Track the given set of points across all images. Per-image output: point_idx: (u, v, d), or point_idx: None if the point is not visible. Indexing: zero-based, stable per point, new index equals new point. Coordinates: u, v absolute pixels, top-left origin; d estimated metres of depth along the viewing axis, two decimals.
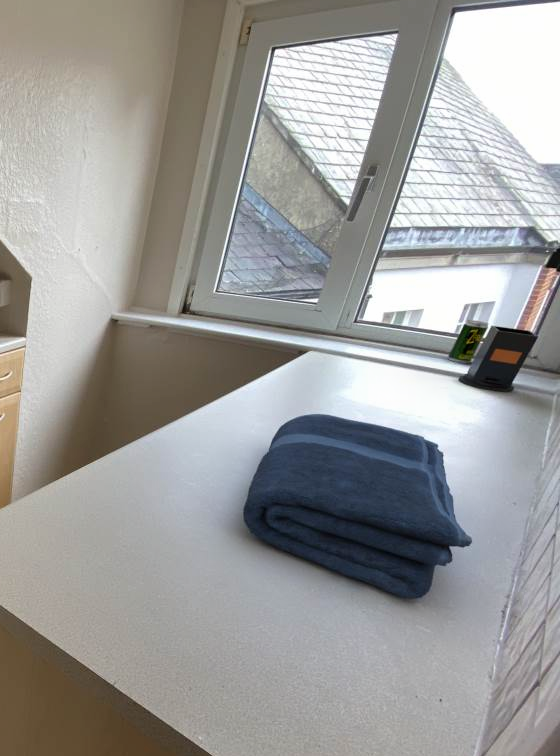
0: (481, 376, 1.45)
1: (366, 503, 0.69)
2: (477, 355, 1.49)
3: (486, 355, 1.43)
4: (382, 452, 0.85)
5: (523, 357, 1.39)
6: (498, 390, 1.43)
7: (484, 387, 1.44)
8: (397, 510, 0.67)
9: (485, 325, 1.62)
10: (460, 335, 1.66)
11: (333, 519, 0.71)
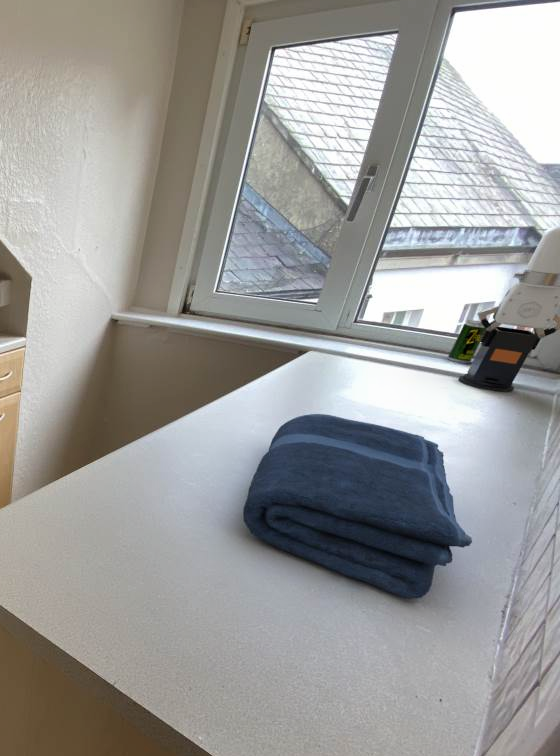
0: (481, 376, 1.45)
1: (366, 503, 0.69)
2: (477, 355, 1.49)
3: (486, 355, 1.43)
4: (382, 452, 0.85)
5: (523, 357, 1.39)
6: (498, 390, 1.43)
7: (484, 387, 1.44)
8: (397, 510, 0.67)
9: None
10: (460, 335, 1.66)
11: (333, 519, 0.71)
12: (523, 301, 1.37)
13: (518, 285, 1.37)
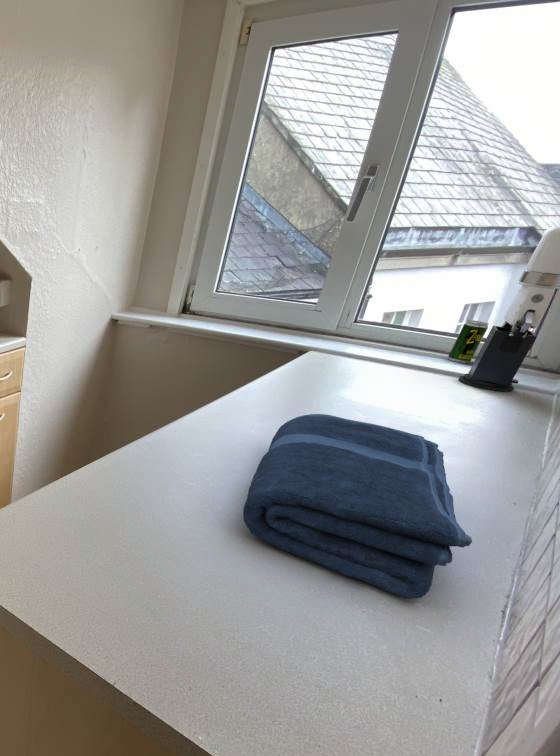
0: None
1: (366, 503, 0.69)
2: (486, 361, 1.44)
3: (522, 361, 1.40)
4: (382, 452, 0.85)
5: None
6: (498, 390, 1.43)
7: (484, 387, 1.44)
8: (397, 510, 0.67)
9: (485, 325, 1.62)
10: (460, 335, 1.66)
11: (333, 519, 0.71)
12: None
13: (553, 290, 1.32)
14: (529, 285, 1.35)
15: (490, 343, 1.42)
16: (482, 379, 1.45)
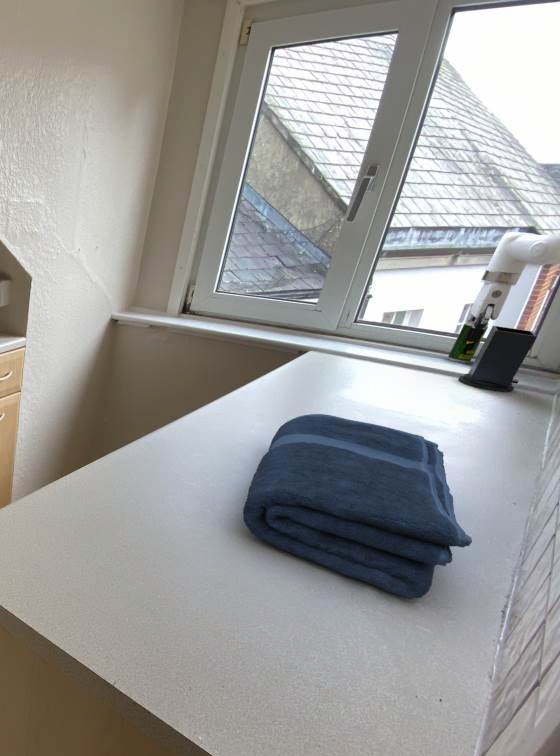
0: None
1: (366, 503, 0.69)
2: (487, 361, 1.44)
3: (522, 361, 1.40)
4: (382, 452, 0.85)
5: None
6: (498, 390, 1.43)
7: (484, 387, 1.44)
8: (397, 510, 0.67)
9: None
10: (460, 335, 1.66)
11: (333, 519, 0.71)
12: None
13: (510, 286, 1.55)
14: (490, 283, 1.57)
15: (490, 343, 1.42)
16: (482, 379, 1.45)
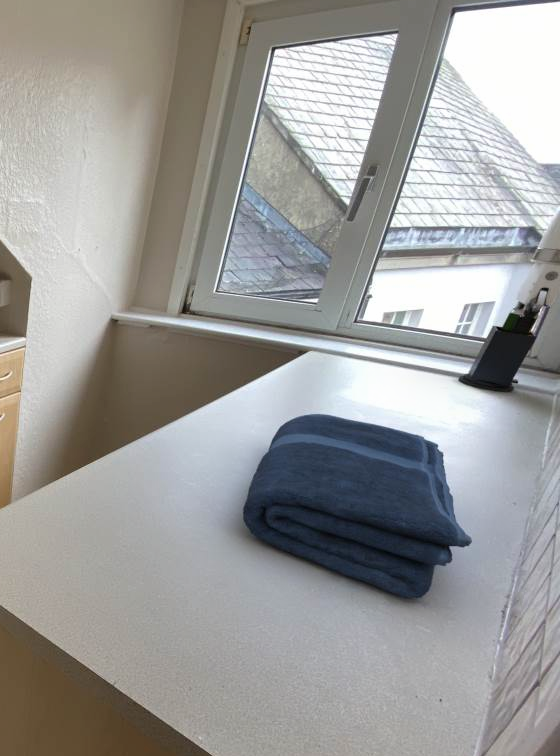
0: None
1: (366, 503, 0.69)
2: (487, 361, 1.44)
3: (522, 361, 1.40)
4: (382, 452, 0.85)
5: None
6: (498, 390, 1.43)
7: (484, 387, 1.44)
8: (397, 510, 0.67)
9: None
10: (505, 326, 1.41)
11: (333, 519, 0.71)
12: None
13: None
14: (542, 263, 1.32)
15: (490, 343, 1.42)
16: (482, 379, 1.45)
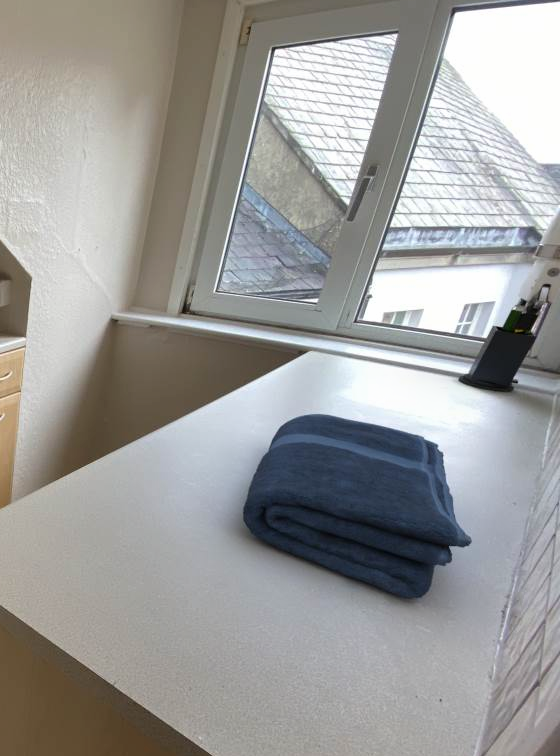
0: None
1: (366, 503, 0.69)
2: (487, 361, 1.44)
3: (522, 361, 1.40)
4: (382, 452, 0.85)
5: None
6: (498, 390, 1.43)
7: (484, 387, 1.44)
8: (397, 510, 0.67)
9: None
10: (507, 322, 1.41)
11: (333, 519, 0.71)
12: None
13: None
14: (544, 259, 1.32)
15: (490, 343, 1.42)
16: (482, 379, 1.45)
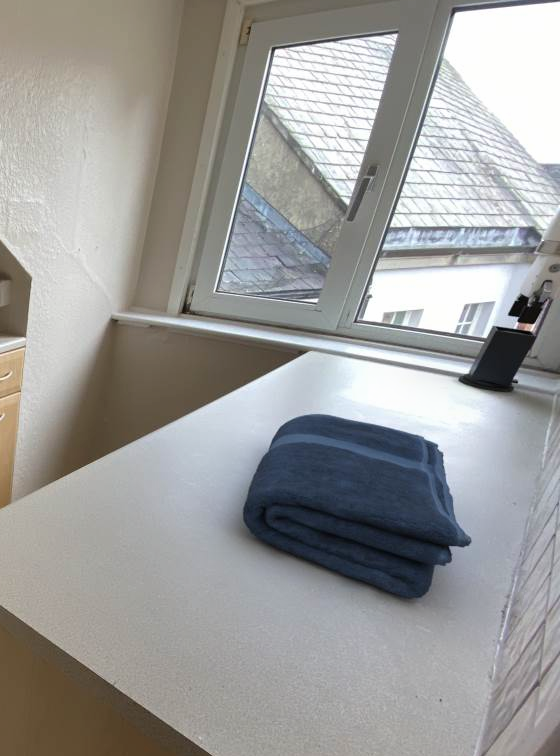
0: None
1: (366, 503, 0.69)
2: (487, 361, 1.44)
3: (522, 361, 1.40)
4: (382, 452, 0.85)
5: None
6: (498, 390, 1.43)
7: (484, 387, 1.44)
8: (397, 510, 0.67)
9: None
10: None
11: (333, 519, 0.71)
12: None
13: None
14: (546, 255, 1.32)
15: (490, 343, 1.42)
16: (482, 379, 1.45)
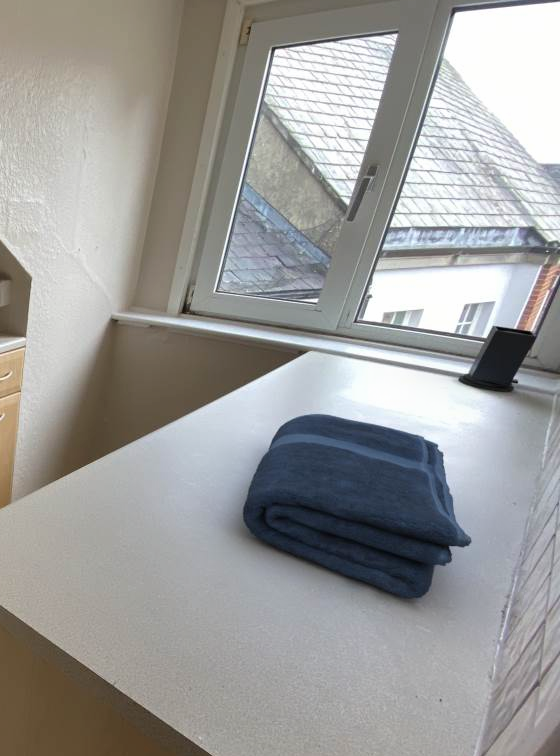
0: None
1: (366, 503, 0.69)
2: (487, 361, 1.44)
3: (522, 361, 1.40)
4: (382, 452, 0.85)
5: None
6: (498, 390, 1.43)
7: (484, 387, 1.44)
8: (397, 510, 0.67)
9: None
10: None
11: (333, 519, 0.71)
12: None
13: None
14: None
15: (490, 343, 1.42)
16: (482, 379, 1.45)
